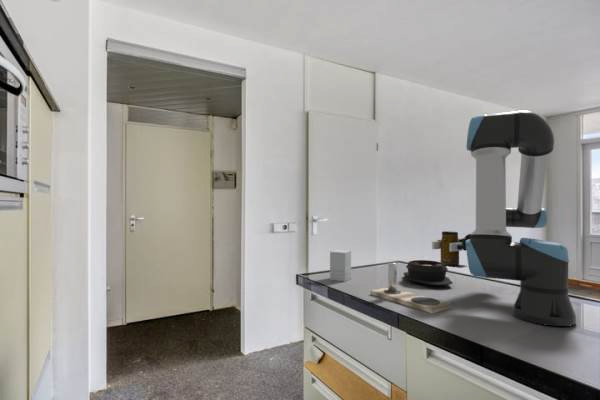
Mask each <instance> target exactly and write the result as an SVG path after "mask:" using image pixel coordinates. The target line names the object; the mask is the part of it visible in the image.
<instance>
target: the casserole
mask: <svg viewBox="0 0 600 400" xmlns="http://www.w3.org/2000/svg"><path fill="white" fill-rule="evenodd" d="M436 264H441V261H436V260H425V259H418V260H416V259H415V260H409V261H408V263H407V265H405V267H406V269H407V271H405V272H403V273H402V274H403V275H404V276H403V278H404V279H406V280H408V281H411V282H413V283H416V284H418V285H424V286H448V285H453V281H452V280H451V279H450V278H449V277H447V276H446V275H447V271H448V270H449V269H448V268H447V266H440V265H436Z"/></svg>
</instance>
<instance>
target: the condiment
mask: <svg viewBox="0 0 600 400" xmlns="http://www.w3.org/2000/svg"><path fill="white" fill-rule="evenodd" d="M458 239H459V233H458V231H450V230H449V231H442V232H441V239H440V240H441V249H440V262H441V264H436V265H440V266H446V267H450V268H458V269H462V268H468V265H465V264H460V251H453V252H450V251H449V243H459V240H458Z"/></svg>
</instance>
